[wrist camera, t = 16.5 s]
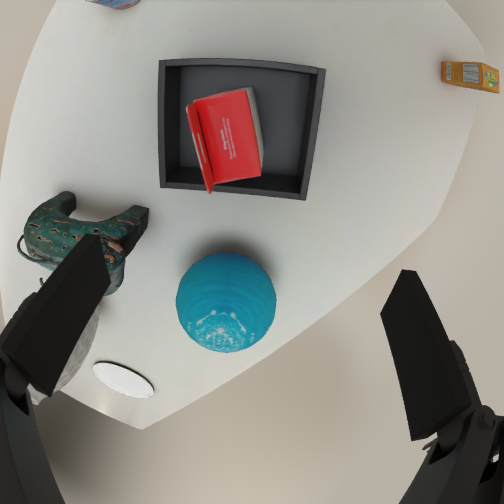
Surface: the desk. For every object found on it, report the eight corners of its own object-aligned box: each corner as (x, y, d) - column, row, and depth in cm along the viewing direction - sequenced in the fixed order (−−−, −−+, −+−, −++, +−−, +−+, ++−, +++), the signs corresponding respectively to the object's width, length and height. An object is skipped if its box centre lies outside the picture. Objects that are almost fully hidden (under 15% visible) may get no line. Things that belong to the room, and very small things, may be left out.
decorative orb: (187, 294, 53) (166, 360, 40) (191, 225, 44) (161, 291, 32) (266, 308, 54) (263, 377, 41) (286, 242, 45) (290, 314, 33)
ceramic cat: (159, 204, 42) (99, 293, 26) (156, 238, 46) (106, 331, 30) (59, 181, 40) (-18, 247, 24) (61, 213, 44) (-5, 283, 28)
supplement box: (458, 65, 26) (501, 70, 17) (457, 86, 27) (500, 96, 19) (440, 59, 26) (482, 62, 18) (440, 81, 28) (482, 89, 20)
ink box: (265, 147, 36) (262, 190, 24) (228, 153, 37) (206, 199, 25) (253, 84, 31) (242, 89, 19) (214, 92, 32) (180, 104, 20)
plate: (135, 399, 86) (134, 402, 85) (85, 368, 77) (84, 371, 76) (167, 388, 77) (166, 392, 76) (109, 353, 69) (107, 356, 68)
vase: (55, 274, 53) (-9, 372, 30) (90, 265, 51) (19, 381, 28) (84, 315, 60) (36, 411, 37) (122, 310, 57) (72, 424, 34)
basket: (316, 70, 30) (325, 69, 24) (300, 180, 39) (305, 201, 33) (177, 61, 30) (158, 60, 24) (176, 169, 39) (160, 188, 33)
